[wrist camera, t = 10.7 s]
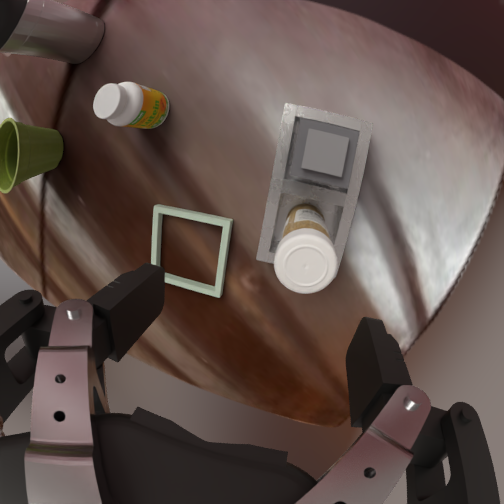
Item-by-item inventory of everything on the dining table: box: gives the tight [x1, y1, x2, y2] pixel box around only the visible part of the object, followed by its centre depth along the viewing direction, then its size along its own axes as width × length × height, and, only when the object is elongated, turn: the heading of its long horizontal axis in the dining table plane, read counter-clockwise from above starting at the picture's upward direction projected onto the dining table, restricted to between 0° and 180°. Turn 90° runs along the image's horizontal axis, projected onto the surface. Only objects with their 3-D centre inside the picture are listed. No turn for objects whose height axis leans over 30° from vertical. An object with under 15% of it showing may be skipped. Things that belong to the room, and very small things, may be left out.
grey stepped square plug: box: [290, 118, 359, 189], centre depth 24 cm, size 5×5×10 cm
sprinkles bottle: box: [274, 204, 337, 294], centre depth 25 cm, size 5×5×14 cm
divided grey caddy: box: [256, 103, 373, 278], centre depth 28 cm, size 9×17×4 cm, turn 170°
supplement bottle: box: [93, 82, 169, 129], centre depth 26 cm, size 5×5×10 cm
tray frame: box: [151, 204, 233, 298], centre depth 36 cm, size 11×11×1 cm
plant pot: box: [0, 118, 63, 193], centre depth 31 cm, size 12×12×11 cm
